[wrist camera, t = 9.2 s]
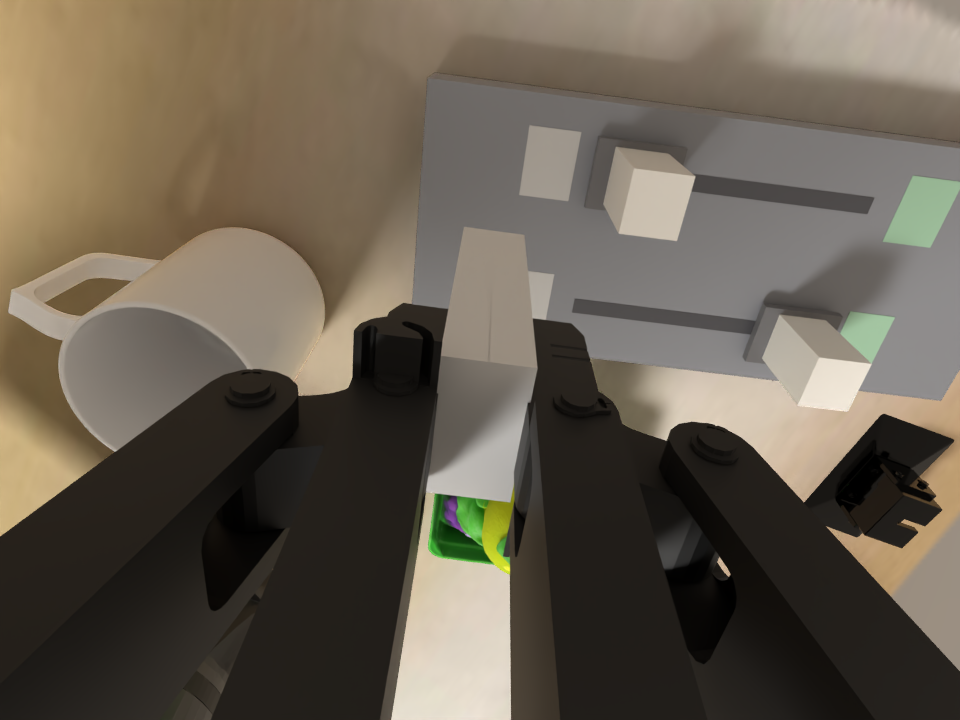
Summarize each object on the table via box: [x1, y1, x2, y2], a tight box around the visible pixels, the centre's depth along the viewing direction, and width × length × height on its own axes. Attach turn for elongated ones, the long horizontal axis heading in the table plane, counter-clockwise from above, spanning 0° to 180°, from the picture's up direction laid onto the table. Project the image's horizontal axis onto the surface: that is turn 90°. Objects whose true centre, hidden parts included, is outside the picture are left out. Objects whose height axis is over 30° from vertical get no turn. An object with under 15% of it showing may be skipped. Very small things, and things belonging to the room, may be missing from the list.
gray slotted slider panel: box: [412, 73, 960, 401], centre depth 32 cm, size 30×13×3 cm, turn 83°
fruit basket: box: [428, 486, 514, 574], centre depth 37 cm, size 11×9×11 cm
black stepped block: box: [804, 414, 954, 548], centre depth 39 cm, size 12×7×5 cm, turn 158°
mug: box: [8, 227, 325, 452], centre depth 31 cm, size 12×9×11 cm
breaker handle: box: [742, 303, 872, 412], centre depth 30 cm, size 4×3×5 cm
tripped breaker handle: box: [584, 136, 696, 241], centre depth 26 cm, size 4×3×5 cm
